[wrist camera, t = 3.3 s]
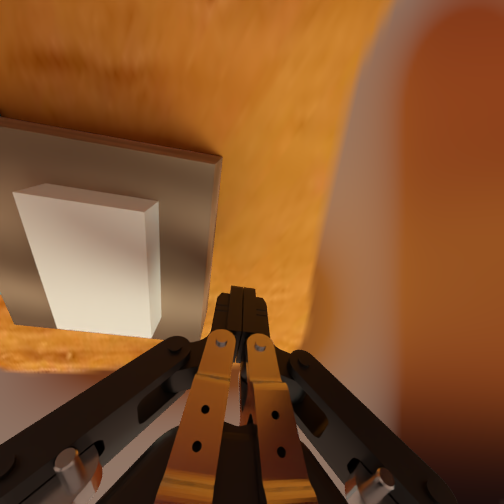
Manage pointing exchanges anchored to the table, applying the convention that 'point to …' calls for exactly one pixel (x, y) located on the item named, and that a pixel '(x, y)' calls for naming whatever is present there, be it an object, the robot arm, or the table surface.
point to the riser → (121, 183)
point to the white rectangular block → (95, 257)
